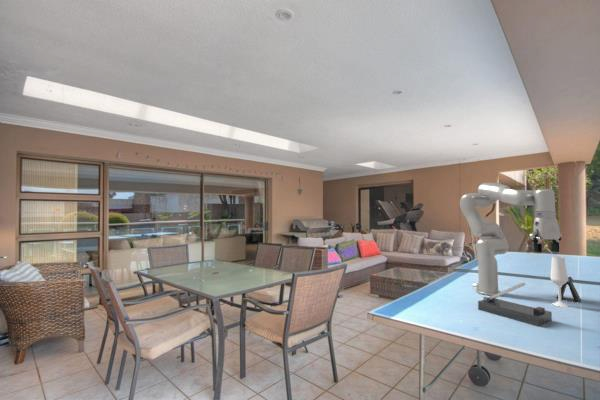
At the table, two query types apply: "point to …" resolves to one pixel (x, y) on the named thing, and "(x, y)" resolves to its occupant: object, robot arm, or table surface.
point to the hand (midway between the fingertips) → (546, 251)
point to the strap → (506, 291)
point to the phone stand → (572, 289)
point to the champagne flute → (559, 276)
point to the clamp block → (516, 311)
